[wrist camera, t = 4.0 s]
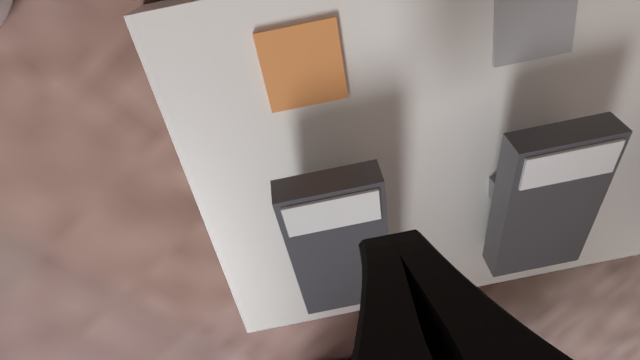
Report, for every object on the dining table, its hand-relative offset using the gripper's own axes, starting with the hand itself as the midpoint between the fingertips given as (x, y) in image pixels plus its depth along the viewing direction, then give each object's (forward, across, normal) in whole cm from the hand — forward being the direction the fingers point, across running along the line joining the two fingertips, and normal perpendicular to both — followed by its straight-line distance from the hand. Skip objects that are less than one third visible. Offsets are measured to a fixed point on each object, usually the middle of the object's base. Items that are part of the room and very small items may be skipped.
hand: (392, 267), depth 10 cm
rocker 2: (+4, -6, +2) cm, 7 cm away
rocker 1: (+4, +1, +2) cm, 5 cm away
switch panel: (+7, -6, +1) cm, 9 cm away
